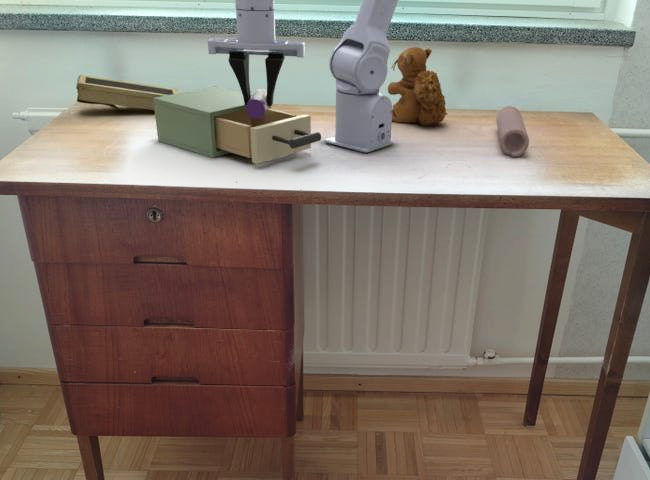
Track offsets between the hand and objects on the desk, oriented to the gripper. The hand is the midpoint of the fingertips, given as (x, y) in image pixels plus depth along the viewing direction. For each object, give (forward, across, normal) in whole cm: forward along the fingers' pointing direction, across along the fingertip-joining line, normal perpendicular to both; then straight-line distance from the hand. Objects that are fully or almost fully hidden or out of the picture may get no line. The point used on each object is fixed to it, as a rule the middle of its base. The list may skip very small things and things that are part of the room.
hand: (259, 104), depth 109 cm
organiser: (+8, +9, -7) cm, 14 cm away
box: (+8, +28, -26) cm, 39 cm away
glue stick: (+1, 0, 0) cm, 1 cm away
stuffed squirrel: (+8, -28, -26) cm, 39 cm away
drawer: (+7, -1, +1) cm, 7 cm away
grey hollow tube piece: (+8, -43, -13) cm, 46 cm away
